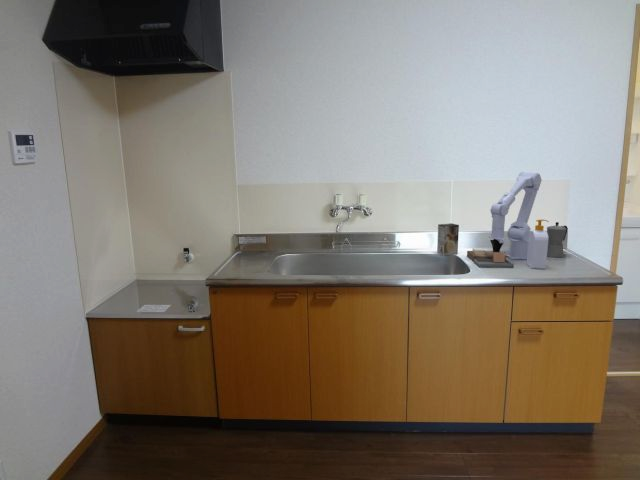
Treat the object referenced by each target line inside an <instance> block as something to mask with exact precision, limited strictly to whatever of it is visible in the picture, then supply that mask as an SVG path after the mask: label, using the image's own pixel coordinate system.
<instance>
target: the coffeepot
mask: <svg viewBox="0 0 640 480" xmlns="http://www.w3.org/2000/svg"><path fill="white" fill-rule="evenodd" d="M559 223H560V222H558V221H557V222H555V225H551V226H547V227H546V232H547V234H548V249H547V257H549V258H557V259H561V258H563V257H564V253H565V252H564V245H563V242H564V241H565V240H566V236H567V233H568V231H569V230H568V229H569V228H568V226H567V225H559Z"/></svg>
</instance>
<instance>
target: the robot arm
mask: <svg viewBox="0 0 640 480" xmlns="http://www.w3.org/2000/svg"><path fill="white" fill-rule="evenodd" d="M542 181H543V179H542V177H541V174H540V173H539V172H535V173H534V172H524V171H523V172H522V171H521V172H519V174H518V175H517V176H516V182H515V183H514V184H513V186H512V188H511V189H510V190H509V192H505V193H504V194H503V195H502V196H501V198H500V199H499V200H498V201H497V203H494V204H493V205H492V206H491V208H490V213H491V219H492V220H491V233H490V235H489V236H488V238H489V239H490V240H489V241H490V243H491V248H492V251H493V252H501V249H502V248H503V247H502V246H503V245H504V244H505V237H504V236H505V235H504V234H505V224H506V215H508V213H509V210H510V208H511V206H512V204H513V203H514V202H515V201H516V196H517V195H518V194H519V193H520V192H521V191H522V190H523V191H524V192H525V193H524V196H523V199H522V203H521V205H520V208H519V210H518V211H519V212H518V215H517V218H516V220H515V221H514V222H511V224H510V226H509V228H508V229H507V233H506V236H507V238H508V240H509V241H510V242H509V251H508V253H509V254H505V256H506V257H508V258H509V259H511V260H527V252H528V241H529V233H530V231H532V230H531V227H530V225H529V224H528V221H529V219H530V216H531V213H532V209H533V206H534V203H535V200H536V197H537V194H538V191H539V189H540V186H541V184H542Z"/></svg>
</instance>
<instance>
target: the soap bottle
mask: <svg viewBox="0 0 640 480" xmlns="http://www.w3.org/2000/svg"><path fill="white" fill-rule="evenodd" d="M535 221H536V223H537V222H538V224H537V225H535V226H534V227H535V229H534V230H530V233H529V239H528V240H527V241H528V252H527V259H526V265H527V266H528V267H529V268H530V269H539V270H540V269H541V270H543V269H545V270H546V267H547V257H548V256H547V249H548V234H547V230H544V227H545V226H544V225H542V222H547V223H549V222H550V220H549V221H548V220H546V219H537V220H535Z"/></svg>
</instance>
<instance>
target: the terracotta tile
mask: <svg viewBox="0 0 640 480" xmlns="http://www.w3.org/2000/svg"><path fill="white" fill-rule="evenodd" d="M505 253H506V252H504V251H500V252H493V262H505V256H506V254H505Z"/></svg>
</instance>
